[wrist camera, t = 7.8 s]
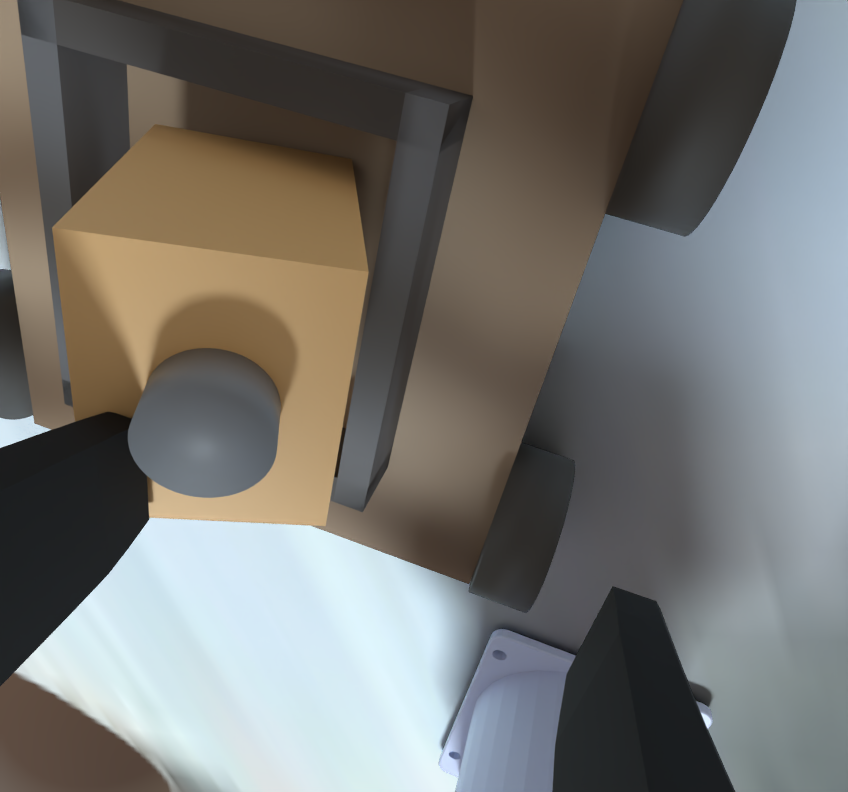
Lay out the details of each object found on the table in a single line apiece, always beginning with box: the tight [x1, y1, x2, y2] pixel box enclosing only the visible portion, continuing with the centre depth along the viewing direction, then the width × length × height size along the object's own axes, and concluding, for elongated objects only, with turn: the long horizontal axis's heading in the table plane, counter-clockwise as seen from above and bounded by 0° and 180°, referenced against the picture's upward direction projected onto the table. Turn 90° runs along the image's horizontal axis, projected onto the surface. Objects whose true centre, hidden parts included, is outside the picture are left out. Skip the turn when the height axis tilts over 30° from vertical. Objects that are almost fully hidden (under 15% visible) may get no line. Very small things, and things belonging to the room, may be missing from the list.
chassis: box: [0, 0, 796, 613], centre depth 16 cm, size 16×18×5 cm
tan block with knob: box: [52, 124, 369, 526], centre depth 12 cm, size 5×4×7 cm
